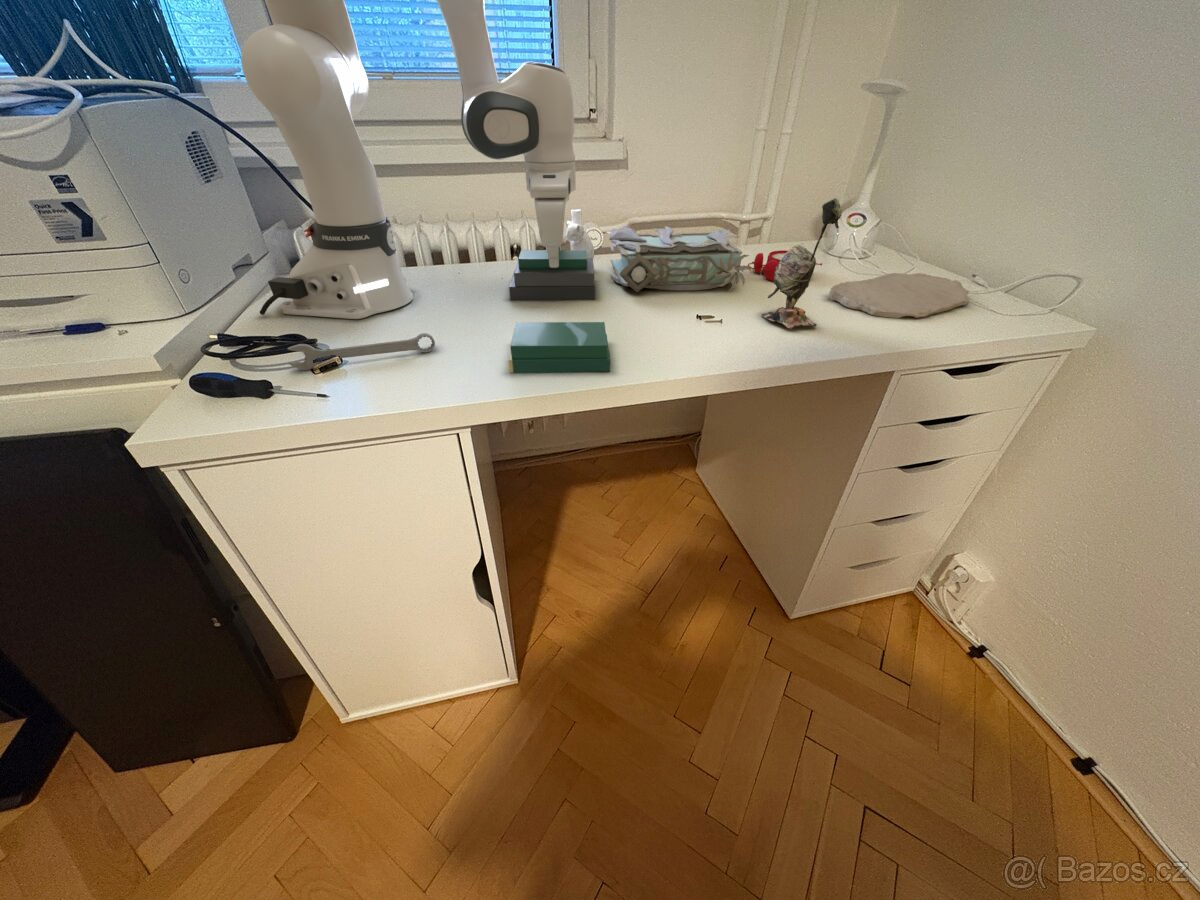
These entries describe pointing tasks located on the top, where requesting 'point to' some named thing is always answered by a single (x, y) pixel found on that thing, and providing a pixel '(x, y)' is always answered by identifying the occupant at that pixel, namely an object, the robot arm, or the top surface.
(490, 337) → the top surface
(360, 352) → the combination wrench
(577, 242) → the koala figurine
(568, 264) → the green book
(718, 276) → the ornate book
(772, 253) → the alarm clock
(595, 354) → the green rectangular block
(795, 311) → the plant with pod
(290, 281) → the robot arm
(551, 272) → the grey books
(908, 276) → the stone tablet
